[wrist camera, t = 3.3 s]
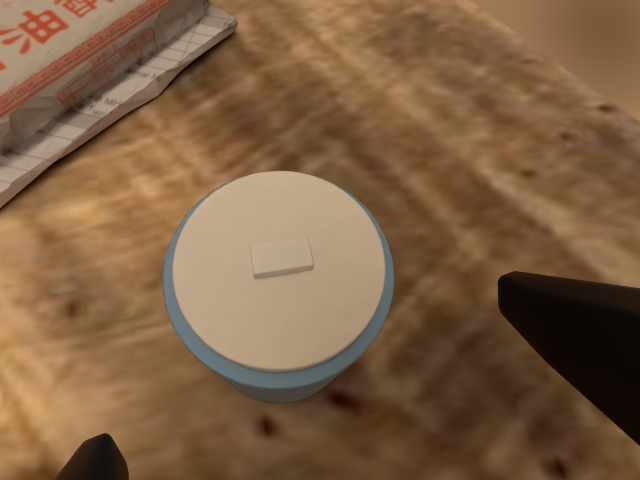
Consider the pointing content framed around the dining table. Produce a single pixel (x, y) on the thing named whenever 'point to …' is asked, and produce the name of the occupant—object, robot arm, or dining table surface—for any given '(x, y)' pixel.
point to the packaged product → (87, 70)
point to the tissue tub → (278, 283)
